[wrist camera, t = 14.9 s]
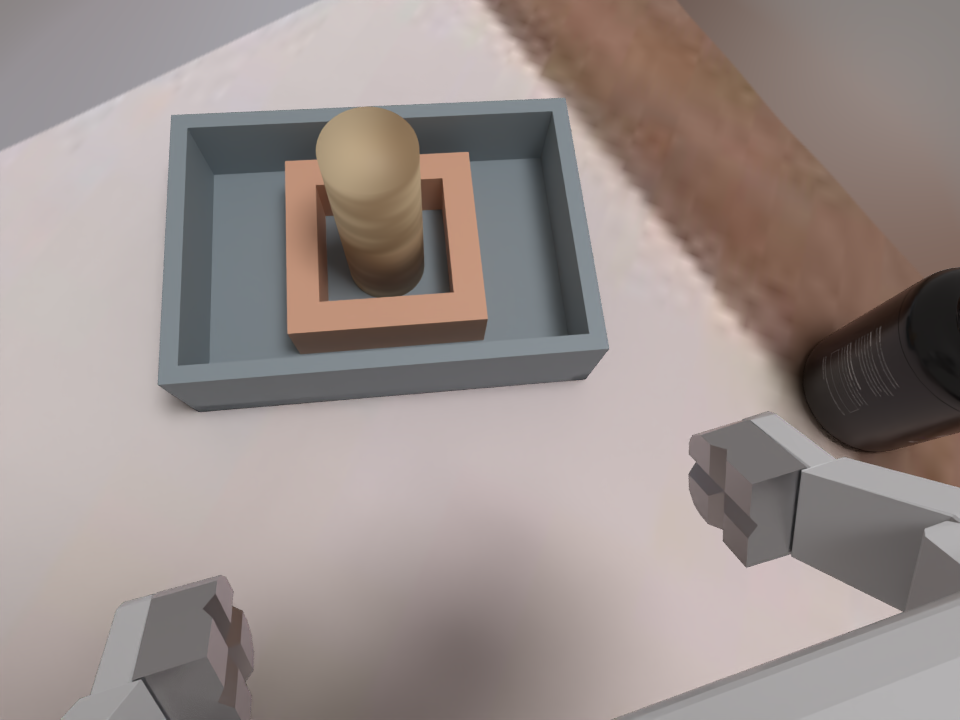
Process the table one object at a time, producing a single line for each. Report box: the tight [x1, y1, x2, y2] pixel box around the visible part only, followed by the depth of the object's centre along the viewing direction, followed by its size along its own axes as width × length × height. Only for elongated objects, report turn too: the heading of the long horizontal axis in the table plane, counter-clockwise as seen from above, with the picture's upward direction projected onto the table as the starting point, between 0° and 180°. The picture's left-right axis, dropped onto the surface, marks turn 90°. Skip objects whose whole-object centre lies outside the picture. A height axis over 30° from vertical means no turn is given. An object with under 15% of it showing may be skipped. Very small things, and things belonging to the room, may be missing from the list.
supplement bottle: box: [803, 267, 960, 452], centre depth 29 cm, size 7×7×12 cm
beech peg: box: [316, 107, 424, 298], centre depth 30 cm, size 4×4×10 cm
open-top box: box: [158, 98, 609, 412], centre depth 33 cm, size 20×14×5 cm
